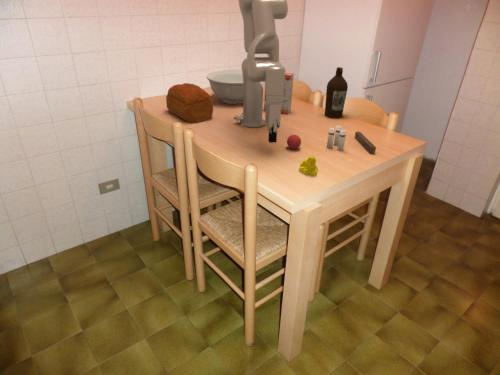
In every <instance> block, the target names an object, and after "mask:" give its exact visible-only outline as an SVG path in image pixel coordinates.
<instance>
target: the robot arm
mask: <svg viewBox="0 0 500 375" xmlns="http://www.w3.org/2000/svg"><path fill="white" fill-rule="evenodd" d="M288 4H289V3H288V1H287V0H238V6H239V10H240V13H241V16H242V17H241V18H242V21H243V45H244V46H243V47H244V51H245V52H246V53H247V54H246V58H245V59H243V61H242V62H241V70H242V75H243V103H242V105H243V107H242V113H241V114H239V115H233V119H234V120H236V121H239V125H241V126H243V127H246V128H261V127H263V126H266V127H267V129H268V136H267V138H268V143H269V144H270V143H271V144H273V143H277V142H278V141H277V139H278V137H277V136H278V129H280V127H281V118H282V113H281V104H282V103H284V86H285V73H286V68H285V66H284V65H282V63H281V62H280V40H279V36H278V34H277V30H276V23H275V22H276V20H284V19H285V18H286V17H287V16H288V13H289V5H288ZM256 55H267V56H256ZM262 82H263V83H264V87H263V85H262ZM264 98H265V103H266V111H265V117H264V118H265V119H263V109H264V105H263V104H264V103H263V102H264V101H263V100H264Z"/></svg>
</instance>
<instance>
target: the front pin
mask: <svg viewBox="0 0 500 375" xmlns="http://www.w3.org/2000/svg"><path fill="white" fill-rule="evenodd" d="M335 134H336V128H335V127H329V128H328V135H327V136H328V137H327V142H326V148H327V149H333V145H334V140H335Z"/></svg>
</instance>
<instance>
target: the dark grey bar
mask: <svg viewBox="0 0 500 375" xmlns="http://www.w3.org/2000/svg"><path fill="white" fill-rule="evenodd" d="M354 139H355V140H356V141H357V142H358V144H360V145H361V146H362V147H363V148H364V150H366V151H367V153H368V154H370V155H372V154H373V155H375V154H376V149H377V147H376V145H375V144H374V143H372V142H371V141H370V140H369V139H368V138H367V137H366V136H365V135H364V134H363V133H362V132H361V131H355V133H354Z"/></svg>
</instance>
